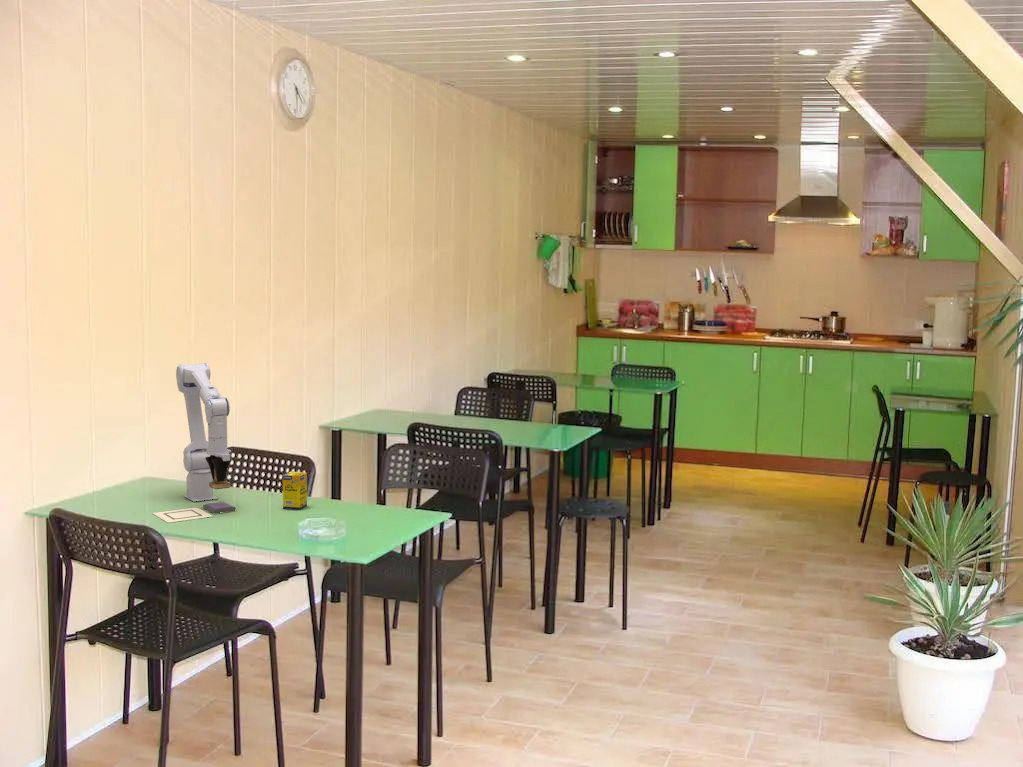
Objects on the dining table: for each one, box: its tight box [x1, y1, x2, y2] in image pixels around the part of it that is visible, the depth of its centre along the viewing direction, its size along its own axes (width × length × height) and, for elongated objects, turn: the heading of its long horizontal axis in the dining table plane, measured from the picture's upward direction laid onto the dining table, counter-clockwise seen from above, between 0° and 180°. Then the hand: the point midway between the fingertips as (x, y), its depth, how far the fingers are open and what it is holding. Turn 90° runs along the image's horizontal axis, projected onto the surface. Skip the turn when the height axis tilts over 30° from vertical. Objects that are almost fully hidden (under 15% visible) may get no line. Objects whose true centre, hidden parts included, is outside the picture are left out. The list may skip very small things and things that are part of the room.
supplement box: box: [282, 471, 308, 511], centre depth 359 cm, size 6×6×11 cm
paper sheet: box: [152, 507, 214, 524], centre depth 348 cm, size 14×14×1 cm
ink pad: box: [202, 500, 237, 514], centre depth 355 cm, size 9×7×2 cm
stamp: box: [209, 468, 232, 490], centre depth 354 cm, size 5×5×7 cm
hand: (218, 480), depth 354 cm, fingers closed on stamp, 3 cm apart
